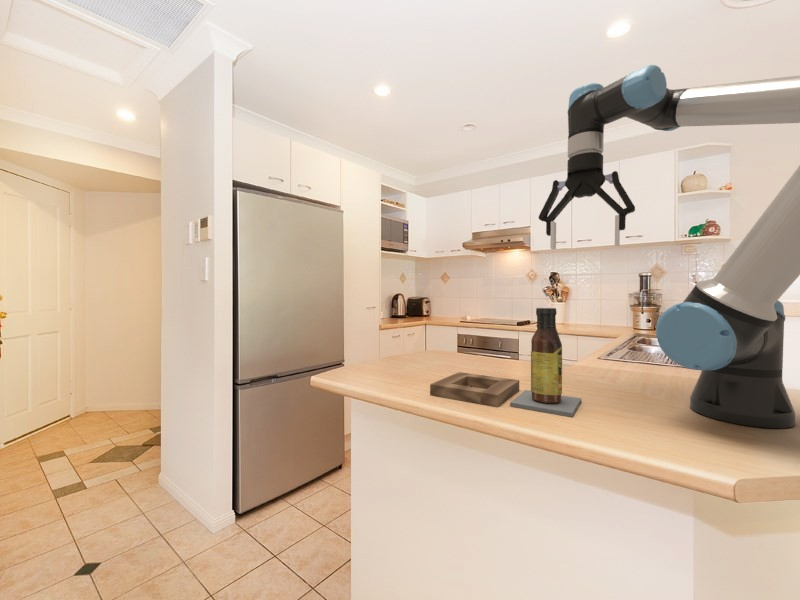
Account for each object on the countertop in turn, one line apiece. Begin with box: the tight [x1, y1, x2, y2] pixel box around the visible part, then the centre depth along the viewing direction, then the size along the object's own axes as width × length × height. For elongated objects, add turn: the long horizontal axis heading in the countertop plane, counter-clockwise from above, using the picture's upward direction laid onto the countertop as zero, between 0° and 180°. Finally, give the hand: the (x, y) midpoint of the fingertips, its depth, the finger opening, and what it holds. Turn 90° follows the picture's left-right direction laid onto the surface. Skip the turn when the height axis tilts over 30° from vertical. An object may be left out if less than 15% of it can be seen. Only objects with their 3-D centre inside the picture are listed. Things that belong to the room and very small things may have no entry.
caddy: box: [429, 371, 520, 408], centre depth 88 cm, size 16×16×2 cm
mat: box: [509, 389, 582, 418], centre depth 79 cm, size 12×12×1 cm
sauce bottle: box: [530, 307, 563, 403], centre depth 79 cm, size 7×6×20 cm
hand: (583, 247), depth 87 cm, fingers open, 13 cm apart
